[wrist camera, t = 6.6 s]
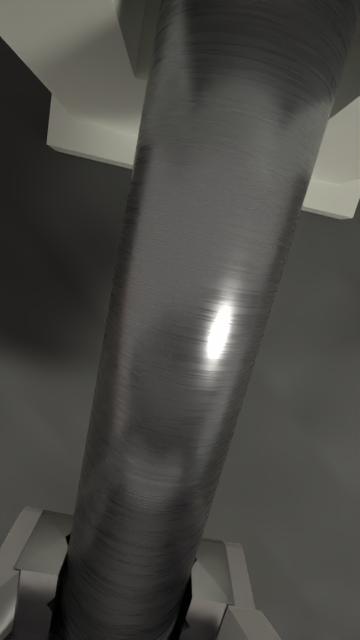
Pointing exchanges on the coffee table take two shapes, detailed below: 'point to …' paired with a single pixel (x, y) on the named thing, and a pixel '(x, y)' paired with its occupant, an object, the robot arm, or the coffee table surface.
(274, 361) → the coffee table surface
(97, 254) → the coffee table surface
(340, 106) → the block
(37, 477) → the coffee table surface
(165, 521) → the shaft
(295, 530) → the coffee table surface
